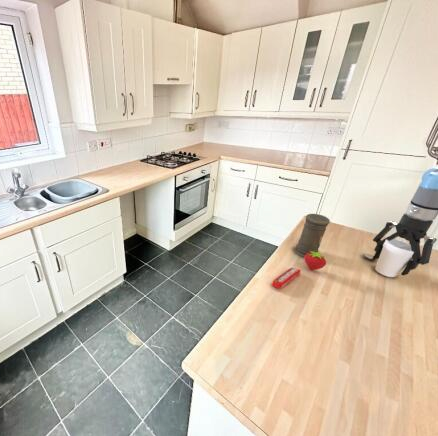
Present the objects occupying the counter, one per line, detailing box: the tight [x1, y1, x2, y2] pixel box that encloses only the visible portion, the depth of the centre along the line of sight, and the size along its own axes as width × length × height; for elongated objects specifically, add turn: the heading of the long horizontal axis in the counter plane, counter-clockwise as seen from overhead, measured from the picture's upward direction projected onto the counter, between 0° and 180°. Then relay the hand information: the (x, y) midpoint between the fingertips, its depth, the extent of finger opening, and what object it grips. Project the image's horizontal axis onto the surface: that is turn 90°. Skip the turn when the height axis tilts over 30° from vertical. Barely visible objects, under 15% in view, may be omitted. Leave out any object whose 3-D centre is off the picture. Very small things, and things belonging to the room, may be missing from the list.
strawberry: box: [303, 251, 327, 272], centre depth 97 cm, size 6×8×10 cm
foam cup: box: [374, 238, 414, 278], centre depth 94 cm, size 10×9×13 cm
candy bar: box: [270, 267, 302, 289], centre depth 94 cm, size 16×4×3 cm, turn 124°
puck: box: [362, 253, 376, 262], centre depth 105 cm, size 4×4×1 cm
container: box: [294, 213, 331, 258], centre depth 105 cm, size 9×9×18 cm
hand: (389, 266), depth 96 cm, fingers closed on foam cup, 9 cm apart
